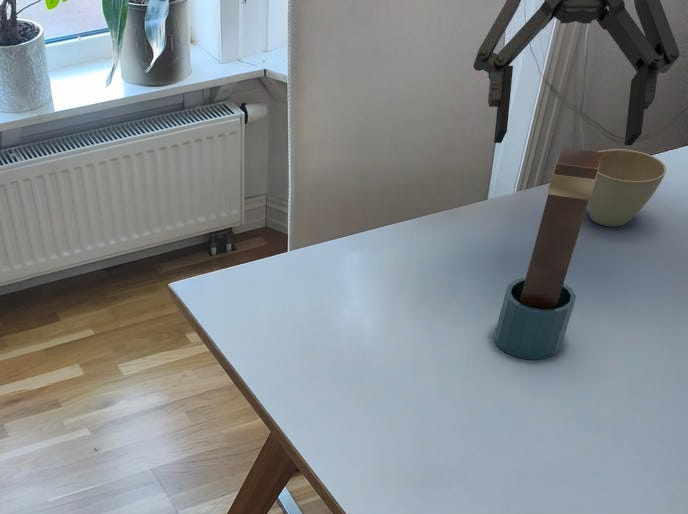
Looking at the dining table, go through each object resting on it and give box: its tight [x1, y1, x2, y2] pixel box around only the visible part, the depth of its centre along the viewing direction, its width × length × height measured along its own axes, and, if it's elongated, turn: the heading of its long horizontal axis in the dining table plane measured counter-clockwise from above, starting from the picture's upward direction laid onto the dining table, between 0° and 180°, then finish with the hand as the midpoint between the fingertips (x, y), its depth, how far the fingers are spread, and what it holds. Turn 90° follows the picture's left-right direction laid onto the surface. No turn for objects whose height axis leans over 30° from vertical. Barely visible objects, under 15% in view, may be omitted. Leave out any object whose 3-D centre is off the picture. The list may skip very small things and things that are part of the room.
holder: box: [494, 276, 577, 360], centre depth 102 cm, size 8×8×6 cm
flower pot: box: [586, 148, 667, 228], centre depth 119 cm, size 10×10×7 cm
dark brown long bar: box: [519, 147, 602, 310], centre depth 96 cm, size 4×4×20 cm
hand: (566, 138), depth 93 cm, fingers open, 13 cm apart
